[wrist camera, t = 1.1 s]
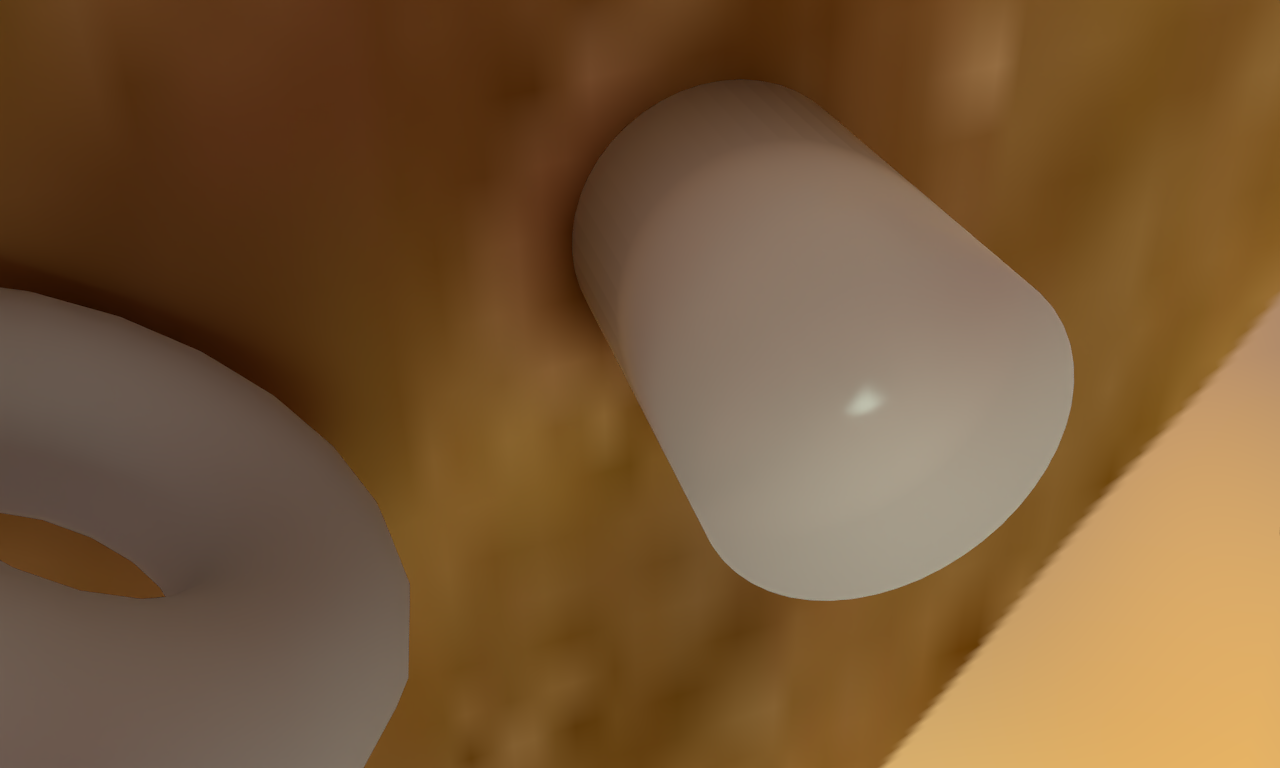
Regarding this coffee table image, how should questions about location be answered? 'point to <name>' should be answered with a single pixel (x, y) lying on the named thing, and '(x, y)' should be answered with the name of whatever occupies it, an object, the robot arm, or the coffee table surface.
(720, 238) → the white rounded cylinder
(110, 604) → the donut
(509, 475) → the coffee table surface
